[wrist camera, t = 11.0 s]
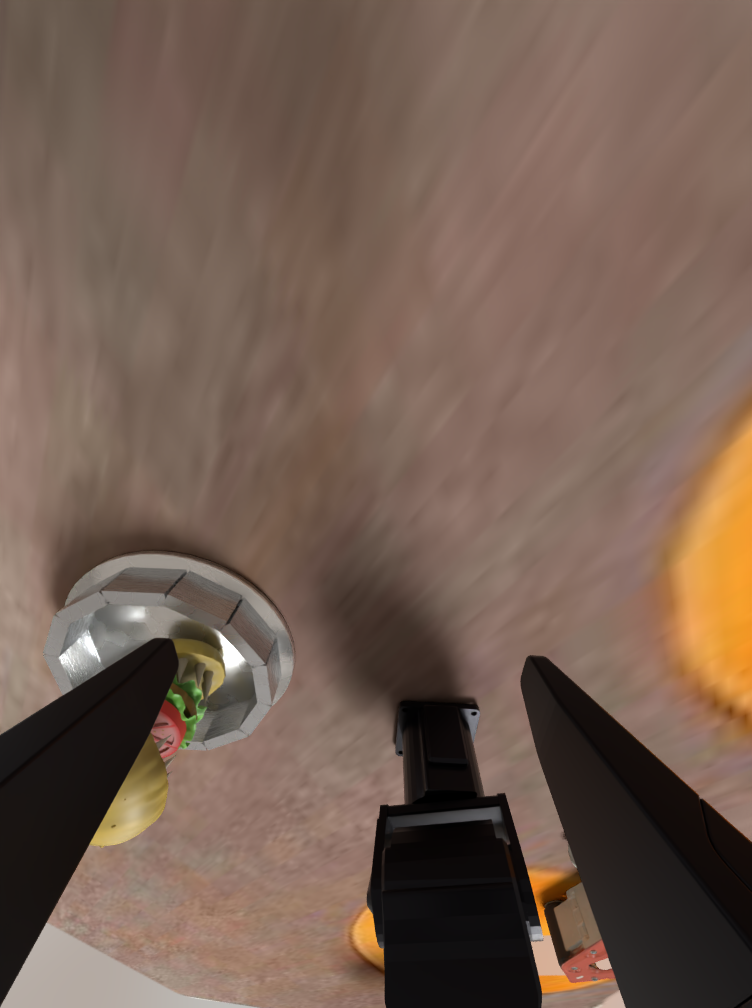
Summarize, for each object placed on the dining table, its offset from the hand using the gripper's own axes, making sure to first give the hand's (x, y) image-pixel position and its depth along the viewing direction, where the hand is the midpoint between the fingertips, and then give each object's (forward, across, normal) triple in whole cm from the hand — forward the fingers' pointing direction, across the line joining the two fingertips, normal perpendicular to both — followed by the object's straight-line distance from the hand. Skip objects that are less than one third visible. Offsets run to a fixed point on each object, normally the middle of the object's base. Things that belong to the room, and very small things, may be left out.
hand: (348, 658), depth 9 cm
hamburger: (+13, +14, +14) cm, 23 cm away
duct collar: (+13, +14, +14) cm, 24 cm away
